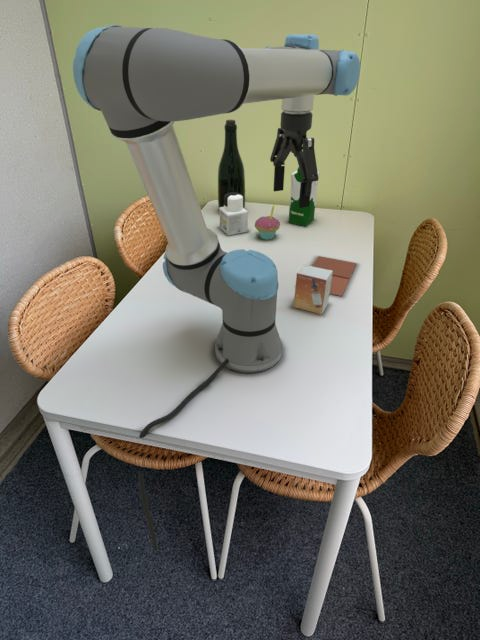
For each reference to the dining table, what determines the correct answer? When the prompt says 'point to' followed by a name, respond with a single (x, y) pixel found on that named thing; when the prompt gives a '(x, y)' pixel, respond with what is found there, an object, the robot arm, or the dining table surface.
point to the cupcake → (267, 226)
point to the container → (233, 214)
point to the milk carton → (295, 213)
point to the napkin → (336, 273)
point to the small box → (312, 289)
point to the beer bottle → (230, 166)
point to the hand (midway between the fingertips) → (290, 198)
